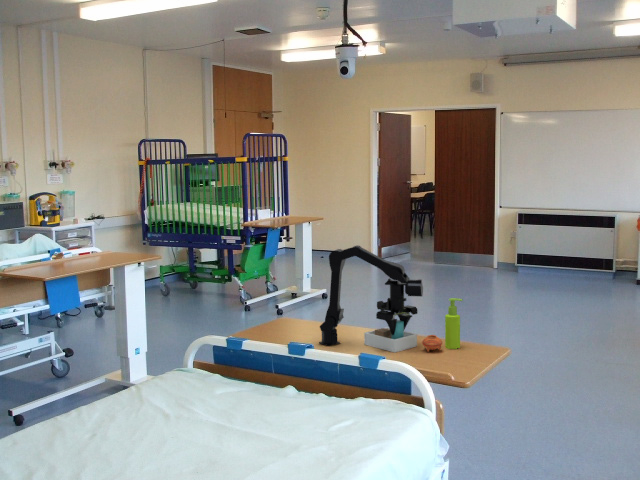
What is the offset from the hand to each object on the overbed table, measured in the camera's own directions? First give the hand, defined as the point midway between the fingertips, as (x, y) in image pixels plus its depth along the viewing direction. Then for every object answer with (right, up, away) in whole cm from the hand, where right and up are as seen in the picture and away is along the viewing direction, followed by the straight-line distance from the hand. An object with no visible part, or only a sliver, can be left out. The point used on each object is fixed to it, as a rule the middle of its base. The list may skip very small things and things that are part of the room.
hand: (397, 333), depth 262 cm
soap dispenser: (+23, -6, -1) cm, 23 cm away
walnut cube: (-5, -4, +7) cm, 9 cm away
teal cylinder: (0, -2, 0) cm, 2 cm away
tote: (-2, -5, +4) cm, 7 cm away
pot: (+13, -6, -6) cm, 16 cm away
